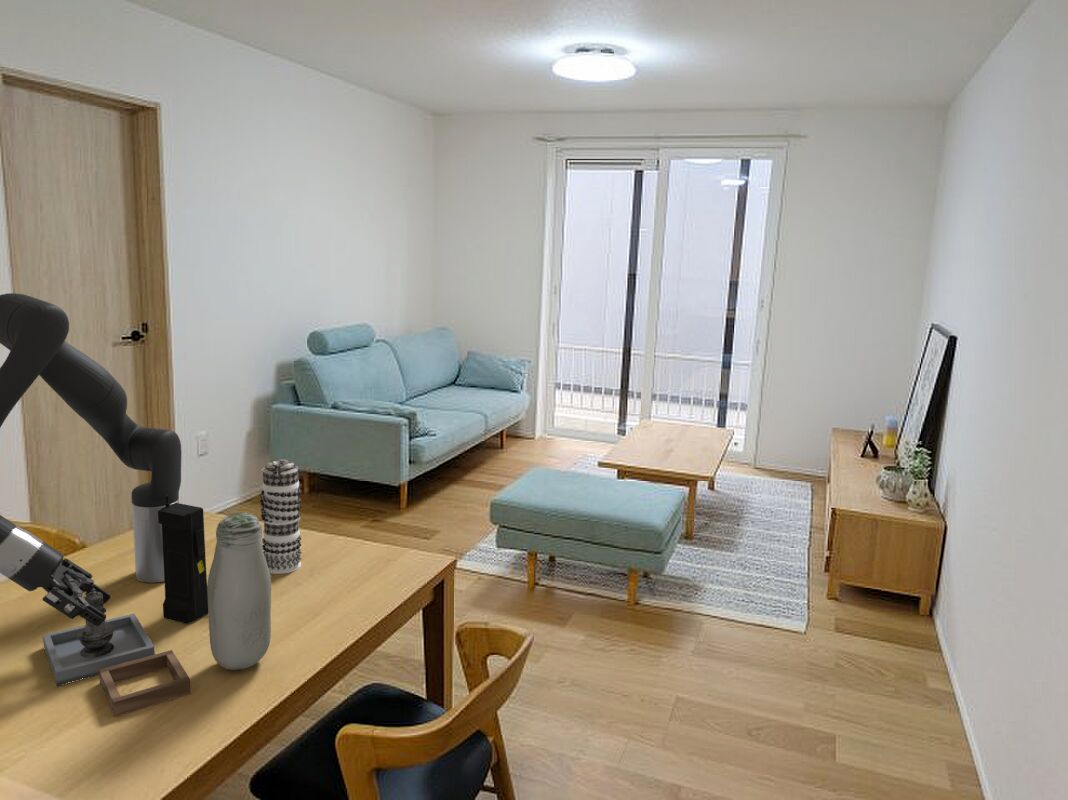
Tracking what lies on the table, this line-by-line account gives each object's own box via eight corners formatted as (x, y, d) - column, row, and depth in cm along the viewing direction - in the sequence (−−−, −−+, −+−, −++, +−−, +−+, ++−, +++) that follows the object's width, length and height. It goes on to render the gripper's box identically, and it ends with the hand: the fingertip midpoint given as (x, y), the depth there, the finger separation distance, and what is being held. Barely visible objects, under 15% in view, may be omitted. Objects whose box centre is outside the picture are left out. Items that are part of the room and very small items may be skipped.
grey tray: (44, 647, 139) (42, 635, 139) (135, 625, 149) (134, 613, 148) (57, 686, 128) (56, 672, 127) (154, 659, 137) (154, 646, 137)
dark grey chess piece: (99, 660, 134) (95, 597, 132) (70, 655, 136) (65, 592, 133) (123, 644, 140) (119, 583, 138) (95, 639, 141) (91, 578, 139)
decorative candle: (311, 564, 180) (310, 462, 175) (279, 578, 172) (277, 470, 167) (285, 555, 184) (283, 454, 179) (252, 567, 177) (250, 462, 172)
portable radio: (216, 613, 155) (211, 494, 150) (193, 626, 149) (188, 503, 144) (184, 605, 157) (179, 488, 152) (161, 618, 152) (155, 497, 147)
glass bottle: (236, 686, 131) (232, 530, 125) (199, 666, 136) (193, 516, 130) (283, 661, 139) (281, 514, 133) (246, 643, 144) (242, 501, 138)
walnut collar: (99, 683, 129) (99, 669, 129) (172, 662, 136) (171, 649, 136) (114, 716, 121) (113, 702, 120) (191, 693, 128) (190, 679, 127)
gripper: (33, 557, 124) (118, 612, 131) (47, 526, 137) (123, 578, 144) (-3, 592, 123) (84, 646, 130) (14, 558, 136) (93, 608, 143)
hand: (105, 610), depth 137 cm, fingers open, 8 cm apart
